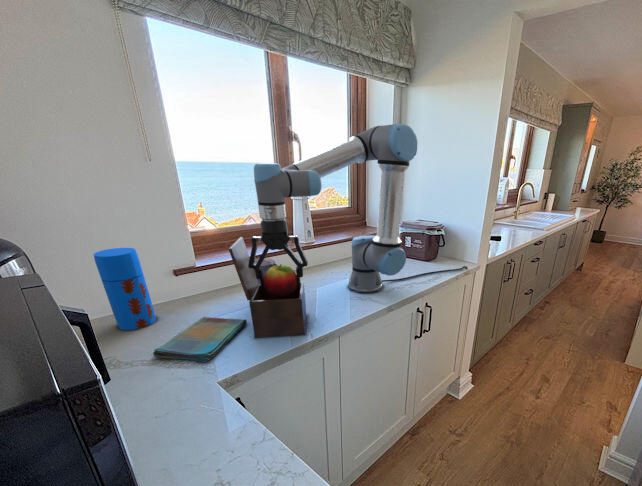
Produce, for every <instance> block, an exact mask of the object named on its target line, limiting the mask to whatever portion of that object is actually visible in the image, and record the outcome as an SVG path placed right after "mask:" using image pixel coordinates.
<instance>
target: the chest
mask: <svg viewBox="0 0 642 486" xmlns="http://www.w3.org/2000/svg"><path fill="white" fill-rule="evenodd" d="M300 283H301V286H300V288H298V284H297V288H296V290H295V291H294V292H293V293H292V294H291V295H289V296H286V297H275V296H273V295H271V294H270V293H268V292H267V290H266V289H265V288H264V290H261V285H257V287H256V289H255V291H254V293H253V295H252V297H251V299H250V300H248V303H249V310H250V316H251V322H252V328H253V335H254V339H259V338H260V339H261V338H263V339H264V338H273V337H274V338H275V337H276V338H277V337H291V336H305V335H306V324H307V305H306V293H305V283H304V282H300Z"/></svg>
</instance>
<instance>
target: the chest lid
mask: <svg viewBox="0 0 642 486" xmlns="http://www.w3.org/2000/svg"><path fill="white" fill-rule="evenodd" d="M228 252H229V254H230V258H231V260H232V263H233V265H234V268H235V270H236V273H237V276H238V279H239V281H240V284H241V287H242V290H243V292H244V295H245V297H246V300H247V301H250V299H251V297H252V295H253V293H254V291H255V289H256V287H257V285H258V281H257V278H256V275H255V272H254V269H253V268H249V267H248V264H249V260H250V253H249V252H248V249H247V245H246V243H245V240H244V237H243V236H240V237H239V238H238V239H237V240H236V241H235V242H233V244H231V246H230V247H229V248H228Z"/></svg>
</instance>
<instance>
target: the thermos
mask: <svg viewBox="0 0 642 486" xmlns="http://www.w3.org/2000/svg"><path fill="white" fill-rule="evenodd" d="M93 258H94V259H93V260H94V263H95V266H96V268H97V271H98V274H99V277H100V280H101V283H102V285H103V289H104V291H105V295H106V296H107V299H108V300H107V301H108V302H109V306H110V308H111V311H112V314H113V317H114V320H115V321H116V324H117V326H118V328H119V329H121V330H123V331H133V330H138V329H142V328H145V327H148V326H150V325H152V324H153V323H155V322H156V321H157V317H156V313H155V309H154V305H153V302H152V299H151V295H150V292H149V288H148V284H147V281H146V278H145V275H144V271H143V268H142V265H141V261H140V258H139V254H138V253H137V251H136V248H133V247H114V248H108V249H107V248H106V249H102V250H99V251H96V252H94V253H93Z"/></svg>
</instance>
